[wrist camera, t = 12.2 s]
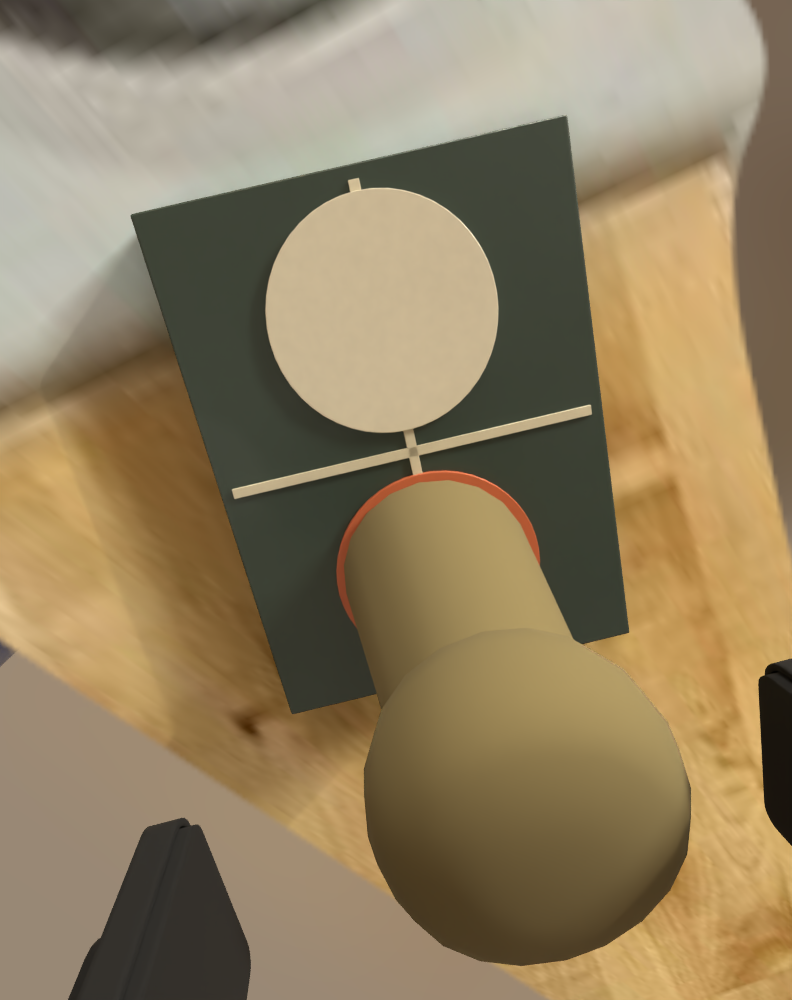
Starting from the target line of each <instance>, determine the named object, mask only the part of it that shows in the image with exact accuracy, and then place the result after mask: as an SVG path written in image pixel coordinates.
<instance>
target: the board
mask: <svg viewBox="0 0 792 1000" xmlns="http://www.w3.org/2000/svg"><path fill="white" fill-rule="evenodd" d="M131 219H132V222H133V225H134V228H135V231H136V234H137V238H138V241H139V244H140V247H141V250H142V253H143V256H144V259H145V262H146V265H147V268H148V271H149V275H150V278H151V281H152V284H153V287H154V290H155V293H156V296H157V299H158V302H159V305H160V309H161V312H162V315H163V318H164V321H165V324H166V327H167V330H168V333H169V336H170V339H171V343H172V346H173V349H174V352H175V355H176V358H177V361H178V364H179V367H180V370H181V373H182V377H183V380H184V383H185V386H186V389H187V392H188V395H189V398H190V401H191V404H192V407H193V410H194V414H195V417H196V420H197V423H198V426H199V429H200V432H201V435H202V438H203V441H204V444H205V448H206V451H207V454H208V457H209V460H210V463H211V466H212V469H213V472H214V475H215V478H216V482H217V485H218V488H219V491H220V494H221V497H222V500H223V503H224V506H225V509H226V512H227V516H228V519H229V522H230V525H231V528H232V531H233V534H234V537H235V540H236V543H237V546H238V549H239V553H240V556H241V559H242V562H243V565H244V568H245V571H246V574H247V577H248V580H249V583H250V587H251V590H252V593H253V596H254V599H255V602H256V605H257V608H258V611H259V614H260V617H261V621H262V624H263V627H264V630H265V633H266V636H267V639H268V642H269V645H270V648H271V651H272V655H273V658H274V661H275V664H276V667H277V670H278V673H279V676H280V679H281V682H282V685H283V688H284V692H285V695H286V698H287V701H288V704H289V707H290V710H291V713H292V714H296V713H300V712H304V711H308V710H312V709H316V708H320V707H325V706H329V705H333V704H337V703H341V702H345V701H349V700H354V699H358V698H362V697H366V696H370V695H374V694H377V693H376V689H375V686H374V683H373V679H372V676H371V673H370V670H369V666H368V663H367V660H366V656H365V653H364V650H363V647H362V643H361V640H360V637H359V633H358V630H357V627H356V623H355V620H354V617H353V614H352V610H351V607H350V604H349V600H348V597H347V594H346V585H345V574H344V563H345V559H346V555H347V551H348V547H349V543H350V539H351V537H352V535H353V534H354V532H355V531H356V529H357V527H358V526H359V524H360V523H361V521H362V520H363V518H364V517H365V515H366V513H367V512H369V511H370V510H371V509H372V508H374V507H375V506H376V505H377V504H378V503H380V502H381V501H382V500H383V499H385V498H386V497H387V496H388V495H389V494H391V493H394V492H396V491H399V490H401V489H404V488H406V487H409V486H411V485H414V484H416V483H419V482H431V481H444V480H451V481H455V482H459V483H464V484H468V485H472V486H476V487H479V488H481V489H482V490H484V491H486V492H487V493H489V494H490V495H492V496H494V497H495V498H497V499H498V500H500V501H502V502H503V503H504V504H505V506H506V507H507V508H508V509H509V511H510V512H511V513H512V514H513V516H514V517H515V518H516V519H517V521H518V522H519V523H520V524H521V527H522V529H523V531H524V533H525V535H526V537H527V540H528V542H529V544H530V546H531V548H532V550H533V553H534V555H535V557H536V559H537V561H538V564H539V566H540V568H541V570H542V572H543V574H544V577H545V579H546V581H547V583H548V585H549V587H550V590H551V592H552V594H553V596H554V598H555V600H556V603H557V605H558V607H559V609H560V611H561V613H562V616H563V618H564V620H565V622H566V624H567V626H568V629H569V631H570V633H571V635H572V637H573V639H574V640H575V641H577V642H579V643H580V644H585V643H589V642H593V641H597V640H601V639H605V638H610V637H614V636H618V635H622V634H626V633H629V626H628V618H627V609H626V601H625V593H624V585H623V576H622V568H621V560H620V551H619V543H618V535H617V526H616V518H615V510H614V501H613V493H612V485H611V476H610V468H609V460H608V452H607V443H606V435H605V427H604V418H603V410H602V402H601V393H600V385H599V377H598V368H597V360H596V352H595V343H594V335H593V327H592V319H591V310H590V302H589V294H588V285H587V277H586V269H585V260H584V252H583V244H582V235H581V227H580V219H579V210H578V202H577V194H576V185H575V177H574V169H573V161H572V152H571V144H570V136H569V127H568V119H567V115H563V116H558V117H554V118H550V119H545V120H541V121H536V122H532V123H528V124H523V125H519V126H515V127H510V128H506V129H502V130H497V131H493V132H488V133H484V134H480V135H475V136H471V137H467V138H462V139H458V140H454V141H449V142H445V143H440V144H436V145H432V146H427V147H423V148H419V149H414V150H410V151H406V152H401V153H397V154H392V155H388V156H384V157H379V158H375V159H371V160H366V161H362V162H358V163H353V164H349V165H344V166H340V167H336V168H331V169H327V170H323V171H318V172H314V173H310V174H305V175H301V176H296V177H292V178H288V179H283V180H279V181H275V182H270V183H266V184H262V185H257V186H253V187H248V188H244V189H240V190H235V191H231V192H227V193H222V194H218V195H214V196H209V197H205V198H200V199H196V200H192V201H187V202H183V203H179V204H174V205H170V206H166V207H161V208H157V209H152V210H148V211H144V212H139V213H135V214H132V215H131Z"/></svg>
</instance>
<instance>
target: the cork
mask: <svg viewBox="0 0 792 1000" xmlns="http://www.w3.org/2000/svg"><path fill="white" fill-rule="evenodd" d="M344 574H345V585H346V594H347V597H348V600H349V604H350V607H351V610H352V614H353V617H354V620H355V623H356V627H357V630H358V633H359V637H360V640H361V643H362V647H363V650H364V653H365V656H366V660H367V663H368V666H369V670H370V673H371V676H372V679H373V683H374V686H375V689H376V693H377V696H378V699H379V703H380V706H381V709H382V710H381V713H380V716H379V719H378V722H377V726H376V729H375V732H374V736H373V739H372V743H371V746H370V750H369V753H368V756H367V760H366V763H365V767H364V798H365V809H366V820H367V831H368V838H369V841H370V844H371V847H372V850H373V853H374V856H375V859H376V862H377V864H378V866H379V868H380V870H381V872H382V874H383V876H384V878H385V880H386V882H387V884H388V886H389V887H390V889H391V891H392V893H393V895H394V897H395V899H396V900H397V902H398V903H399V904H400V905H401V906H402V907H403V908H404V910H405V911H406V912H407V913H408V914H409V915H410V916H411V918H412V919H413V920H414V921H415V922H416V923H417V924H419V925H420V926H421V927H422V928H423V929H424V930H426V931H427V932H428V933H429V934H430V935H431V936H432V937H434V938H435V939H436V940H437V941H438V942H439V943H441V944H442V945H443V946H445V947H447V948H450V949H452V950H454V951H457V952H460V953H462V954H464V955H467V956H469V957H472V958H474V959H476V960H479V961H484V962H493V963H501V964H510V965H518V966H525V965H533V964H540V963H548V962H556V961H564V960H568V959H571V958H573V957H576V956H579V955H581V954H584V953H587V952H590V951H592V950H595V949H598V948H600V947H603V946H605V945H607V944H609V943H610V942H612V941H613V940H615V939H616V938H618V937H619V936H621V935H622V934H624V933H625V932H627V931H628V930H630V929H631V928H633V927H634V926H636V925H637V924H639V923H640V922H642V921H643V920H644V919H645V918H646V916H647V915H648V914H649V913H650V912H651V911H652V910H653V909H654V908H655V906H656V905H657V904H658V903H659V902H660V901H661V900H662V899H663V898H664V896H665V895H666V894H667V893H668V892H669V891H670V889H671V887H672V885H673V883H674V881H675V879H676V877H677V875H678V873H679V870H680V868H681V866H682V864H683V862H684V860H685V858H686V856H687V850H688V840H689V830H690V820H691V787H690V784H689V780H688V777H687V774H686V770H685V767H684V763H683V760H682V757H681V753H680V750H679V748H678V745H677V743H676V740H675V738H674V736H673V733H672V731H671V728H670V726H669V724H668V722H667V721H666V719H665V718H664V717H663V716H662V714H661V713H660V712H659V711H658V709H657V708H656V707H655V706H654V704H653V703H652V702H651V701H650V700H649V698H648V697H647V696H646V695H645V693H644V692H643V691H642V690H641V689H640V687H639V686H638V685H637V684H636V683H635V682H634V680H633V679H632V678H631V677H630V676H629V675H628V674H627V672H626V671H625V670H624V669H623V668H621V667H620V666H618V665H616V664H615V663H613V662H611V661H610V660H608V659H606V658H604V657H603V656H601V655H599V654H598V653H596V652H594V651H592V650H591V649H589V648H587V647H586V646H584V645H582V644H580V643H579V642H577V641H575V640H574V639H573V637H572V635H571V633H570V631H569V629H568V626H567V624H566V622H565V620H564V618H563V616H562V613H561V611H560V609H559V607H558V605H557V603H556V600H555V598H554V596H553V594H552V592H551V590H550V587H549V585H548V583H547V581H546V579H545V577H544V574H543V572H542V570H541V568H540V566H539V564H538V561H537V559H536V557H535V555H534V553H533V550H532V548H531V546H530V544H529V542H528V540H527V537H526V535H525V533H524V531H523V529H522V527H521V524H520V523H519V522H518V521H517V519H516V518H515V517H514V516H513V514H512V513H511V512H510V511H509V509H508V508H507V507H506V506H505V504H504V503H503V502H502V501H500V500H498V499H497V498H495V497H494V496H492V495H490V494H489V493H487V492H486V491H484V490H482V489H481V488H479V487H476V486H472V485H468V484H464V483H459V482H455V481H451V480H444V481H431V482H419V483H416V484H414V485H411V486H409V487H406V488H404V489H401V490H399V491H396V492H394V493H391V494H389V495H388V496H387V497H386V498H385V499H383V500H382V501H381V502H380V503H378V504H377V505H376V506H375V507H374V508H372V509H371V510H370V511H369V512H367V513H366V515H365V517H364V518H363V520H362V521H361V523H360V524H359V526H358V527H357V529H356V531H355V532H354V534H353V535H352V537H351V539H350V543H349V547H348V551H347V555H346V559H345V563H344Z"/></svg>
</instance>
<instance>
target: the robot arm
mask: <svg viewBox="0 0 792 1000" xmlns="http://www.w3.org/2000/svg"><path fill="white" fill-rule="evenodd" d="M758 686H759V706H760V726H761V745H762V765H763V785H764V803H765V808H766V811H767V814H768V816H769V818H770V820H771V822H772V823H773V825H774V826H775V828H776V829H777V830H778V831H779V832H780V833H781V835H782V836H783V837H784V838H785V839H786V840H787V841H788V842H789V843H790V845H791V846H792V659H788V660H784V661H780V662H777V663H773V664H770V665H768V666H767V668H766V669H765V676H762V677H760V679H759V684H758ZM250 969H251V960H250V951H249V946H248V943H247V940H246V938H245V935H244V933H243V930H242V928H241V925H240V923H239V920H238V918H237V916H236V913H235V911H234V908H233V906H232V903H231V901H230V898H229V896H228V893H227V891H226V888H225V886H224V883H223V881H222V878H221V876H220V873H219V871H218V868H217V866H216V863H215V861H214V858H213V856H212V853H211V851H210V848H209V846H208V843H207V841H206V838H205V836H204V834H203V831H202V829H201V827H200V826H199V825H193V826H191V825H190V824H189V822H188V821H187V820H186V819H185V818H180V819H176V820H172V821H169V822H165V823H161V824H157V825H153V826H149V827H147V828H146V829H145V830H144V832H143V834H142V835H141V838H140V840H139V843H138V845H137V848H136V850H135V853H134V856H133V858H132V861H131V863H130V865H129V868H128V871H127V873H126V876H125V878H124V881H123V883H122V886H121V889H120V891H119V893H118V896H117V899H116V901H115V903H114V906H113V908H112V911H111V913H110V916H109V918H108V921H107V924H106V926H105V929H104V932H103V934H102V936H101V938H100V939H98V940H97V941H96V942H95V943H94V944H93V945H92V947H91V948H90V950H89V952H88V954H87V956H86V958H85V960H84V962H83V965H82V967H81V970H80V972H79V975H78V977H77V979H76V982H75V984H74V987H73V989H72V992H71V994H70V996H69V999H68V1000H247V993H248V986H249V979H250Z"/></svg>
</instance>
